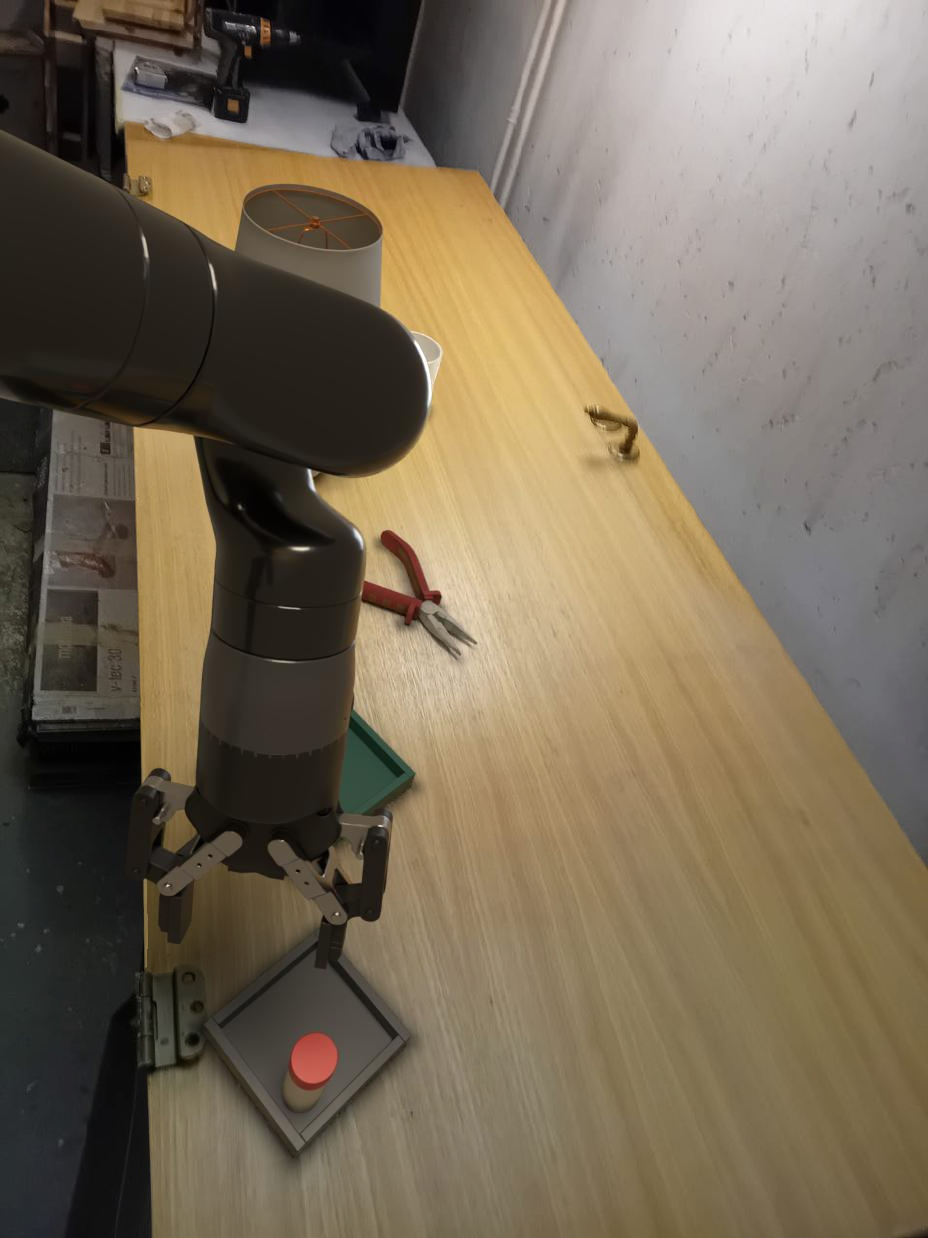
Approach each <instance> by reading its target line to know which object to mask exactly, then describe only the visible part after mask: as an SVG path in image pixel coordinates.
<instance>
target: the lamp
mask: <svg viewBox="0 0 928 1238" xmlns="http://www.w3.org/2000/svg"><path fill="white" fill-rule="evenodd" d="M383 235H384V227H383V224H382V222H381V220H380V219H379V218H378V216H377V215H376V214H375V213H374V212H373V211H372V210H370V209H369V208H368V207H366V206H365V205H364V204H362V203H360V202H358V201H357V200H355V199H352V197H351V198H350V197H349V196H347V195H344V194H341V193H338V192H335V191H333V190H329V189H325V188H321V187H317V186H312V185H307V184H306V185H305V184H299V183H298V184H297V183H274V184H267V185H263V186H259V187H256V188H254V189H251V190H250V191H249V192H247V194H246V195H245V196H244V197H243V199H242V207H241V212H240V218H239V225H238V230H237V235H236V241H235V246H234V251H235V252H238V253H240V254H242V255H244V256H246V257H249V258H251V259H253V260H256V261H259V262H261V263H264V264H267V265H269V266H272V267H275V268H278V269H281V270H284V271H287V272H290V273H293V274H296V275H298V276H301V277H304V278H306V279H309V280H312V281H315V282H317V283H320V284H323V285H325V286H328V287H331V288H334V289H336V290H339V291H341V292H344V293H346V294H349V295H351V296H354V297H356V298H359V299H361V300H364V301H366V302H368V303H370V304H373V305H375V306H377V307H379V308H381V306H382V305H381V303H382V299H381V298H382V261H383V259H382V258H383ZM311 471H312V475H313V479H314V478H316V477H317V476H318V475H319V474H320V472H317V471H313V470H311Z"/></svg>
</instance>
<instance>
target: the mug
mask: <svg viewBox="0 0 928 1238" xmlns="http://www.w3.org/2000/svg"><path fill="white" fill-rule="evenodd" d="M409 331H410V332H411V334H412V335H413V336H414V338H415V339H416V341H417V342H418V344H419V346H420V347H421V349H422V351H423V353H424V356H425V358H426V361H427V364H428V367H429V371H430V375H431V382H432V390H433V388H434V386H435V383H436V378H437V376H438V372H439V368H440V366H441V363H442V359H443V355H444V351H443V348H442V346H441V344H439V343H438V342H437V341H436V340H435V339H433V338H432V337H430V336H428V335H426V334H423V333H422V332H418V331H414V330H409Z"/></svg>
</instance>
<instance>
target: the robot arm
mask: <svg viewBox="0 0 928 1238" xmlns="http://www.w3.org/2000/svg"><path fill="white" fill-rule="evenodd" d="M410 331H411V330H409V328H407V326H406V325H404V324H403V323H402V322H401V321H400V320H399V319H397V317H395V316H394V315H393V314H391V313H389V312H388V311H386V310H385V309H383V308H381V307H380V308H379V307H377V306H375V305H373V304H370V303H368V302H366V301H364V300H361V299H359V298H356V297H354V296H351V295H349V294H346V293H344V292H341V291H339V290H336V289H334V288H331V287H328V286H325V285H323V284H320V283H317V282H315V281H312V280H309V279H306V278H304V277H301V276H298V275H296V274H293V273H290V272H287V271H284V270H281V269H278V268H275V267H272V266H269V265H267V264H264V263H261V262H259V261H256V260H253V259H251V258H249V257H246V256H244V255H242V254H240V253H238V252H235V250H234V249H231V248H229V247H227V246H225V245H224V244H221V243H219V242H217V241H216V240H215V239H212V238H211V237H209V236H208V235H206V234H204V233H203V232H201V231H199V230H198V229H197V228H195V227H193V226H191V225H190V224H188V223H186V222H185V221H182V220H181V219H179V218H178V217H175V216H174V215H171V214H170V213H168V212H166V211H164V210H163V209H160V208H158V207H157V206H154V205H153V204H150V203H148V202H147V201H145V200H143V199H141V198H139V197H137V196H135V195H133V194H131V193H129V192H128V191H125V190H124V189H121V188H119V187H118V186H116V185H114V184H113V183H109V182H108V181H106V180H104V179H103V178H101V177H99V176H96V175H95V174H93V173H91V172H89V171H87V170H85V169H82V168H80V167H79V166H77V165H74V164H73V163H70V162H69V161H66V160H64V159H62V158H60V157H58V156H56V155H54V154H52V153H50V152H48V151H46V150H44V149H42V148H40V147H38V146H35V145H34V144H31V143H29V142H27V140H26V141H25V140H24V139H21V138H19V137H18V136H15V135H13V134H11V133H10V132H7V131H5V130H3V129H1V128H0V399H4V400H7V401H12V402H15V403H20V404H23V405H28V406H31V407H37V408H41V409H46V410H51V411H55V412H61V413H66V414H70V415H75V416H79V417H85V418H89V419H93V420H99V421H102V422H103V421H104V422H107V423H112V424H117V425H121V426H126V427H132V428H139V429H146V430H156V431H164V432H170V433H171V432H172V433H177V434H182V435H183V434H185V435H190V436H192V437H193V442H194V447H195V452H196V458H197V463H198V468H199V474H200V477H201V484H202V490H203V494H204V495H203V496H204V500H205V504H206V508H207V512H208V516H209V519H210V520H209V521H210V523H211V527H212V532H213V536H214V540H215V558H214V567H213V573H214V574H213V585H212V600H211V601H212V602H211V616H210V617H211V618H210V627H209V633H208V638H207V643H206V647H205V652H204V657H203V663H202V670H201V684H200V697H199V716H198V733H197V734H198V735H197V746H196V747H197V749H196V764H195V765H196V766H195V778H194V779H195V785H194V786H192V785H188V784H183V783H178V782H174V781H172V775H171V773H170V772H169V771H168V770H166V769H165V768H162V767H156V768H153V769H152V770H151V771H150V773H148V775H147V776H146V778H145V779H144V781H143V782H142V783H141V784H140V786H139V788H138V789H137V790H136V791H135V793H134V794H133V796H132V798H131V803H130V812H129V823H128V833H127V843H126V851H125V860H124V861H125V862H124V875H125V876H126V878H128V879H129V880H130V881H132V882H142V881H144V880H147V881H149V882H151V883H153V884H154V885H155V886H156V890H157V891H158V893H159V895H158V918H157V919H158V920H157V925H158V928H159V929H160V932H161V933H166V934H167V935H166V936H167V937H166V943H169V944H174V945H181V944H182V942H183V940H184V938H185V937H186V934H187V932H188V930H189V928H190V926H191V923H192V919H193V911H194V895H195V882H197V881H199V880H200V879H201V878H202V877H204V875H206V874H207V873H208V872H210V871H212V869H214V868H215V867H216V866H217V865H218V864H219V863H221V864H222V865H224V866H226V867H227V872H232V873H237V874H258V875H260V876H263V877H265V878H269V879H271V880H272V879H273V880H278V881H285V878H286V877H289V878H290V879H291V881H292V882H293V884H294V885H295V886H296V888H297V890H298V891H299V892H300V894H301V895H302V896H303V898H304V899H305V900H306V901H311V900H312V901H313V902H314V904H315V905H316V906H317V908H318V909H319V911H320V912H321V913H322V917H321V919H320V924H319V927H320V931H319V938H318V944H317V951H316V958H315V965H314V968H318V969H324V970H326V968H327V965H328V961H333V962H337V960H338V959H339V958H340V956H341V953H342V952H343V949H344V944H345V940H346V934H347V929H348V922H349V921H350V920H351V919H353V918H361V919H362V921H365V922H367V923H373V922H374V923H375V922H377V921H378V920H380V918H381V914H382V910H383V909H382V908H383V901H384V900H383V899H384V894H385V892H386V888H387V879H388V871H389V862H390V851H391V841H392V833H393V822H394V815H393V813H392V811H390V810H389V808H386V807H383V808H377V809H375V810H374V811H373V813H372V816H363V815H355V814H347V813H344V811H343V809H342V807H341V805H340V802H339V789H340V782H341V775H342V768H343V761H344V754H345V747H346V740H347V734H348V727H349V719H350V714H351V712H352V711H353V709H354V706H355V691H354V689H355V684H356V644H357V634H358V628H359V627H358V626H359V619H360V612H361V605H362V600H363V599H362V592H363V585H364V580H365V578H366V572H367V571H366V570H367V559H368V557H367V554H368V553H367V545H366V541H365V537H364V535H363V532H362V531H361V530H360V529H359V527H358V526H357V525H356V524H355V523H354V522H352V521H351V520H350V519H349V518H348V517H347V516H345V515H344V514H343V513H342V512H340V511H339V510H338V509H336V508H334V506H332V505H331V504H330V503H329V502H328V501H327V500H326V499H324V497H323V496H322V494H321V493H320V492H319V490H318V489H317V486H316V484H315V480H314V478H313V475H312V471H311V470H313V471H317V472H320V473H321V474H325V475H328V476H332V477H336V478H342V479H362V478H367V477H371V476H375V475H379V474H380V473H383V472H386V471H387V470H389V469H391V468H392V467H394V466H395V465H397V464H399V463H400V462H401V461H403V460H404V459H405V458H406V457H407V456H408V455H409V454H410V453H411V452H412V450H413V449H414V448H415V447H416V445H417V444H418V442H419V441H420V439H422V438H421V437H422V436H423V434H424V432H425V430H426V428H427V425H428V422H429V420H430V415H431V412H432V411H431V410H432V406H433V405H432V404H433V389H432V382H431V375H430V371H429V367H428V364H427V361H426V358H425V356H424V353H423V351H422V349H421V347H420V346H419V344H418V342H417V341H416V339H415V338H414V336H413V335H412V334H411V332H410ZM320 473H319V474H320ZM180 810H184V813H185V816H186V818H187V820H188V821H189V823H190V824H191V826H192V827H193V828H194V830H195V831H196V833H195V835H194V836H193V837H192V838H191V839H190V840H188V841H187V842H186V843H185V844H184V845H182V846H181V847H180V848H179V849H177V850H176V851H175V852H173V851H171V850H169V849H166V848H164V841H165V835H166V825H167V822H170V821H171V820H172V818H173V817H174V815H175V814H176V812H177V811H180ZM339 837H343V839H346V840H347V841H348V842H349V844H350V849H351V851H352V853H353V854H354V855H355V858H356V859H357V860H359V861H362V860H363V861H362V874H361V882H354V883H353V881H352V880H351V878H350V877H349V875H348V874H347V873H346V871H345V870H344V868H343V867H342V865H341V863H340V860H339V855H338V852H337V850H336V848H335V847H334V846H332V845H333V844H335V843H336V842H337V840H338V839H339ZM336 844H337V843H336ZM336 844H335V845H336Z"/></svg>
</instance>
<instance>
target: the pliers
mask: <svg viewBox="0 0 928 1238" xmlns="http://www.w3.org/2000/svg"><path fill="white" fill-rule="evenodd" d="M380 541H381V542H382V545H383V546H384V547H385V548H386V549H387V550H389V552H391V553H392V554H394V555H395V557H397V558H398V559H399V560H400V561H401V563H402V564H403V566H404V567H405V570H406V573H407V575H408V578H409V581H410V583H411V587H412V589H413V592H414V595H415V596H410V595H408V594H405V593H402V592H399V591H396V590H393V589H390V588H387V587H385V586H382V585H379V584H376V583H373V582H371V581H368V580H365V579H364V585H363V592H362V599H361V600H364V601H367V602H370V603H373V604H375V605H378V606H381V607H384V608H387V609H390V610H393V611H395V612H398V613H400V614H404V615H405V619H404V623H405V624H406V625H410V624H411V622H412V620H417V619H418V618H419V619H420V621H421V622H422V623H423V625H424V626H425V627H426V628H427V629H428V631H429V632H430V633H431V634H433V636H435V637H436V638H437V639H438V640H440V641H441V642H442V643H443V644H445V645H446V646H447V647H448V648H450V649H451V650H452V651H453V652H455V653H456V654H457V655H458V656H459V657H461V656H462V652H461V651H460V649H459V647H458V645H456V643H455V641H454V640H453V638H452V637H451V634H449V632H450V633H452V634H454V635H456V636H458V637H460V638H462V639H464V640H466V641H468V642H469V643H471V644H473V645H478V642H477V640H476V639H475V638H474V637H473V636H472V635H471V634H470V633H469V632H468V631H467V630H466V629H465V628H464V627H463V626H462V625H461V624H460V622H458V620H456V618H454V617H453V615H451V614H450V613H449V612H448V611H446V610H445V609H443V608H442V607H440V604H441V601H442V598H443V595H442V593H441V591H440V590H437V589H435V590H430V588H429V585H428V582H427V579H426V575H425V573H424V571H423V568H422V565H421V562H420V560H419V557H418V556H417V553H416V552H415V550H414V548H412V546H411V544H409V543H408V542H407V541H405V540H404V539H403V538H402V537H400V536H399V535H398V534H397V533H395V532H394V531H393V530H390V529H385V530H383V531H382V532H381V533H380Z"/></svg>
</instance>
